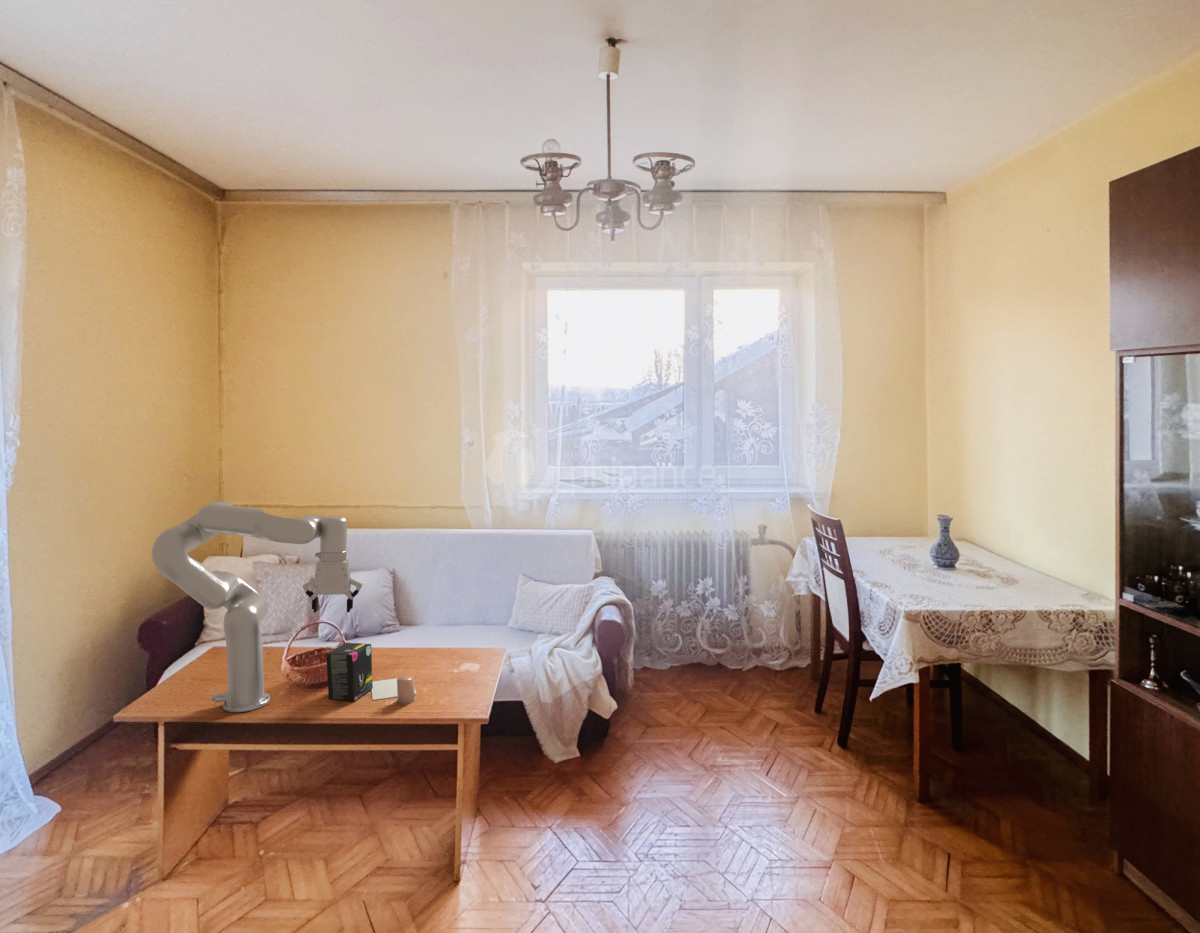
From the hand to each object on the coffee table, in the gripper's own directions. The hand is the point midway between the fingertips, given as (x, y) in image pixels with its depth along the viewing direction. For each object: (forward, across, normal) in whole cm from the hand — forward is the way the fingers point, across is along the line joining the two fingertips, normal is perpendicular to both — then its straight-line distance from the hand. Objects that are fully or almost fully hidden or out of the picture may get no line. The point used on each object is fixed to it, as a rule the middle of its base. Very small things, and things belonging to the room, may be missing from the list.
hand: (332, 611), depth 203 cm
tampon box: (+27, +6, 0) cm, 27 cm away
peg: (+26, +23, -8) cm, 36 cm away
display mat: (+26, +18, +2) cm, 32 cm away
